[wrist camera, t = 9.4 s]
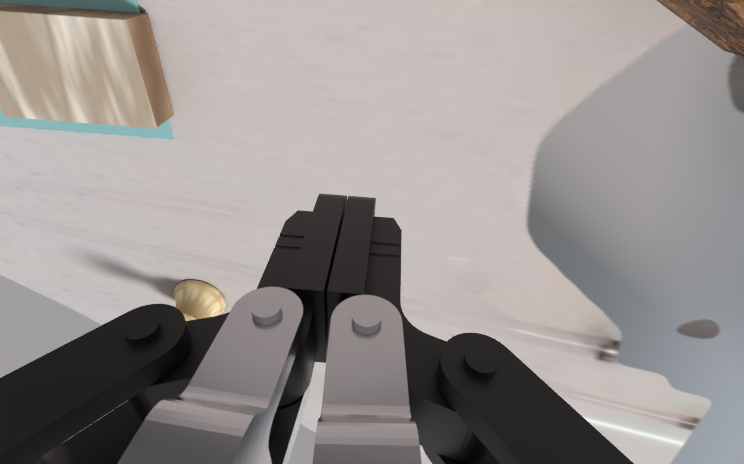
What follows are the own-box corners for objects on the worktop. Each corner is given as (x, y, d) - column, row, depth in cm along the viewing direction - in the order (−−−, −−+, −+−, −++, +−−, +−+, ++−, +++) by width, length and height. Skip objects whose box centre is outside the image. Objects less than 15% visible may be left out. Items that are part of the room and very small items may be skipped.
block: (173, 114, 44) (34, 104, 44) (147, 13, 38) (-14, 1, 38) (155, 128, 41) (5, 116, 41) (123, 20, 35) (-52, 7, 35)
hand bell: (182, 314, 65) (128, 405, 52) (167, 277, 60) (103, 369, 47) (231, 317, 65) (188, 410, 52) (220, 280, 60) (169, 373, 47)
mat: (-9, 123, 47) (-12, 124, 46) (-100, -41, 37) (-104, -41, 37) (173, 137, 46) (171, 139, 46) (130, -25, 36) (127, -25, 36)
